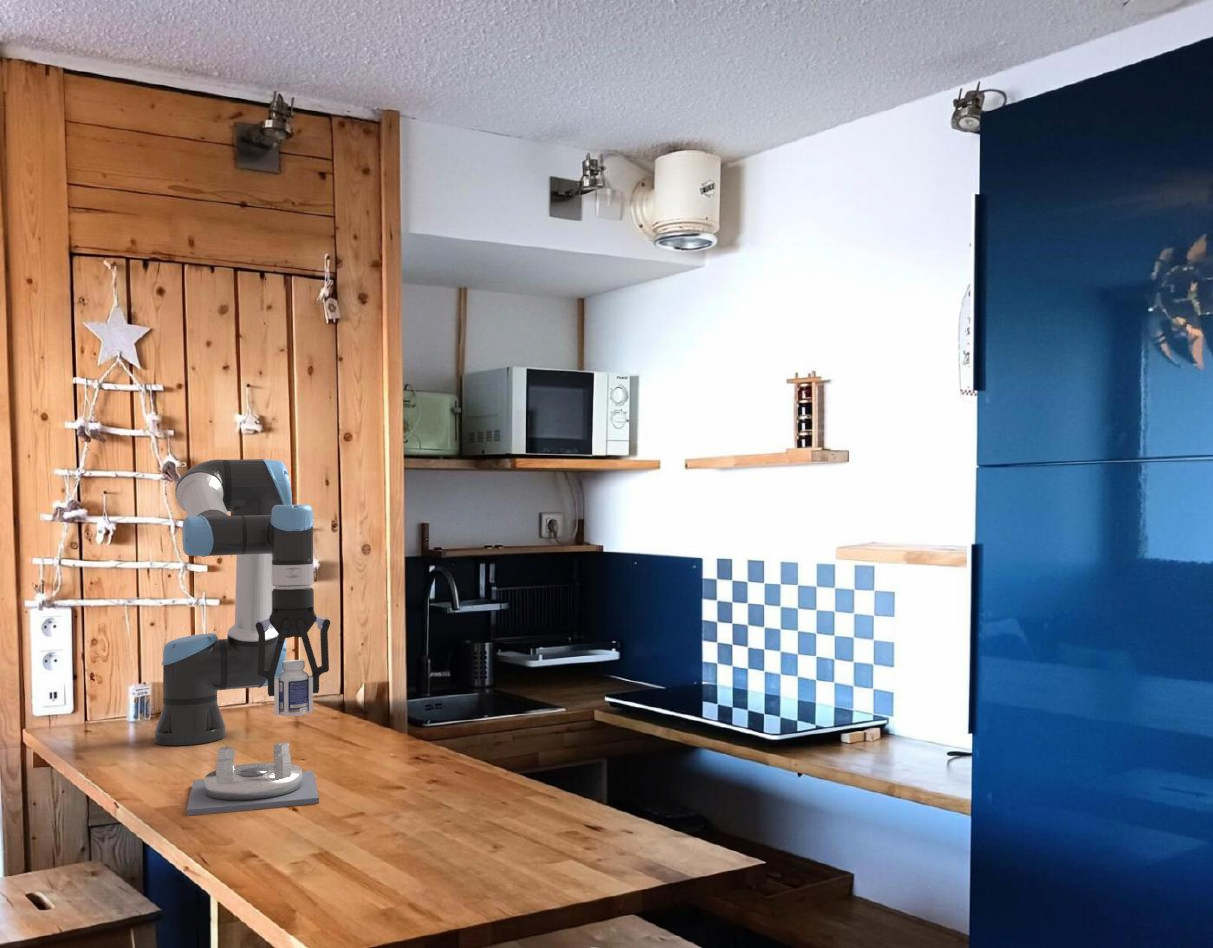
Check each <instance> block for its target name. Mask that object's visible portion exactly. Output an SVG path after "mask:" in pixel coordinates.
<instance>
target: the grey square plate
mask: <svg viewBox="0 0 1213 948" xmlns="http://www.w3.org/2000/svg"><path fill="white" fill-rule="evenodd" d="M315 776H316V775H315V772H314V770H306V771H303V770H302V785H301V787H299V788H298V789H296V790H294V791H292V792H289V793H285V794H282V795H278V796H273V797H267V798H259V799H248V800H225V799H217V798H213V797H210V796H207V795H206V794H205V779H199V780H193V781H192V784H191V785H192V787H191V788H190V789H191V790H190V792H189V793H190V794H189V799H188V802H187V806H186V816H188V817H189V816H198V815H209V814H219V813H221V814H222V813H231V812H242V811H252V810H262V809H274V808H285V807H286V808H287V807H294V806H305V805H315V804H316V805H317V804H320V796H319V791H318V786H317V782H316V777H315Z"/></svg>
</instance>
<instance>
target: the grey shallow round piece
mask: <svg viewBox="0 0 1213 948" xmlns="http://www.w3.org/2000/svg"><path fill="white" fill-rule="evenodd" d="M217 754H218V755H217V760H216V761H215V763H216V764H215V765H216V767H215V768H216V770H214V771H211V772H209V773H207V774H206V775H205V776H204V780H205V794H206V795H207V796H210V797H213V798H217V799H225V800H248V799H259V798H267V797H273V796H278V795H282V794H285V793H289V792H292V791H294V790H296V789H298V788H299V787H301V785H302V772H303V768H302V767H301V766H299V765H295V764H292V757H291V755H292V754H291V753H290V743H288V742H279V743H275V744H273V762H255V763H254V762H253V763H245V764H239V765H235V747H231V746H224V747H220V748H218V750H217Z"/></svg>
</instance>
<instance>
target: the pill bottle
mask: <svg viewBox="0 0 1213 948" xmlns="http://www.w3.org/2000/svg"><path fill="white" fill-rule="evenodd" d="M305 666H306V664H305V660H303V659H302V660H301V659H289V660H286V661H283V662H282V669H283V670H284V672H283V673H281V674H280V675H279V716H282V717H283V716H284V717H296V716H297V717H299V716H303V715H307V714H308V713H309V689H308V675H309V673H307V672H306V671H304V670H305Z"/></svg>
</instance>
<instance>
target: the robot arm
mask: <svg viewBox="0 0 1213 948" xmlns="http://www.w3.org/2000/svg"><path fill="white" fill-rule="evenodd" d="M290 481H291V480H290V475H289V472H288V468H287V466H286V464H285V463H284V462H283V461H280V460H278V459H277V460H275V459H266V458H258V459H257V458H256V459H255V458H254V459H253V458H252V459H251V458H250V459H246V458H245V459H211V460H206V461H203V462H200V463H198V464H195V465H193V466H191V467H190V468H189V469H187V470H186V471H185V472H184V473H183V474H182V475H181V476H180V478H178V481H177V483H176V485H175V491H174V492H175V494H174V495H175V499H176V502H177V504H178V506H179V507H180V509H181V510H182V511H184V512H185V514H186V517H185V518H184V519H183V521H182V530H181V531H182V538H181V540H182V542H181V543H182V549H183V550H182V551H183V553H184V554H185V555H187V556H188V557H189V556H191V557H193V556H194V557H201V558H203V557H218V556H235V555H236V559H235V560H236V563H235V564H236V565H235V566H236V569H235V599H234V600H235V603H234V604H235V605H234V608H235V609H234V624H233V625H232V626H230V627H229V629H228V630H227V638H222V639H219V637H218V635H217V634H216V633H212V632H209V633H208V632H207V633H199V634H192V635H188V636H183V637H179V638H175V639H172V640H169V641H168V642H167V643H166V644H164V647H163V651H162V653H163V654H162V662H161V665H162V667H163V668H162V679H163V680H162V710H161V713H160V715H159V718H158V721H157V725H156V727H155V731H154V743H155V744H158V745H161V746H162V745H164V746H191V745H200V744H208V743H212V742H215V741H218V740H221V739H223V738H225V737H226V734H227V733H226V724H225V721H224V718H223V715H222V713H221V709H220V707H219V704H218V691H223V690H224V691H225V690H239V689H251V688H252V689H254V688H258V689H261V688H263V687H267V695H268V697H273V701H274V703H273V705H274V706H273V707H274V708H273V710H274V715H275V716H280V714H279V675H280V674H281V673H283V672H284V670H283V669H282V662H283V661H287V647H288V646H287V644H288V643H287V639H289V638H290V639H291V638H293V637H294V638H301V641H302V644H303V647H304V651H305V654H306V657H307V661H308V665H309V667H310V671H311V674H308V689H309V711H308V713H314V694H318V693H319V691H320V676H321V675H322V674H325V673H328V672H329V671H330V661H329V660H330V658H329V639H328V638H329V636H328V635H329V634H328V631H329V628H330V626H331V620H330V619H329V618H328V617H326V618H324V617H319V616H317V614H316V612H315V606H314V605H315V599H314V597H315V594H314V590H315V589H313V587H311V586H313V584H314V583H315V581H314V576H315V575H314V574H315V573H314V525H315V520H314V515H313V514H314V510H313V508H312V506H311V505H309V504H293V496H292V495H293V494H292V488H291V487H292V486H291V482H290ZM229 512H230V515H229ZM315 623H316V624H317V628H318V630H320V631H319V635H320V656H321V659H320V660H321V665H320V666H318V665H317V661H316V658H315V654H314V651H313V647H312V644H311V641H310V637H309V633H308V632H310V630H311V628H312V627H313V625H315Z"/></svg>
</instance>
